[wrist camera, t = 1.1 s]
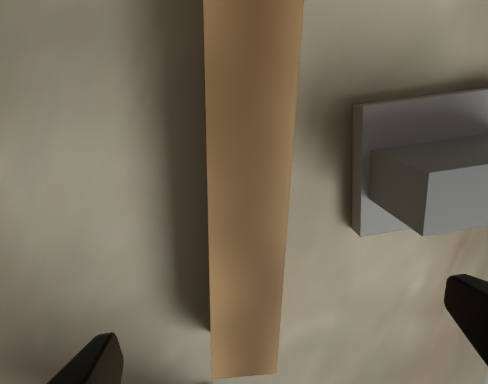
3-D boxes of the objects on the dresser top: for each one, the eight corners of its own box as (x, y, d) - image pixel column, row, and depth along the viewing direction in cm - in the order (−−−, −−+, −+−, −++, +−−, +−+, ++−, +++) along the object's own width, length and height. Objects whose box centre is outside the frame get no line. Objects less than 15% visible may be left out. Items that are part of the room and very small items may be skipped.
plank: (211, 329, 22) (211, 379, 18) (203, -28, 15) (201, -68, 11) (265, 325, 22) (276, 373, 19) (283, -23, 15) (308, -60, 11)
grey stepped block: (351, 228, 20) (408, 284, 14) (352, 104, 17) (423, 113, 12) (478, 208, 20) (579, 254, 15) (498, 85, 18) (632, 84, 12)
